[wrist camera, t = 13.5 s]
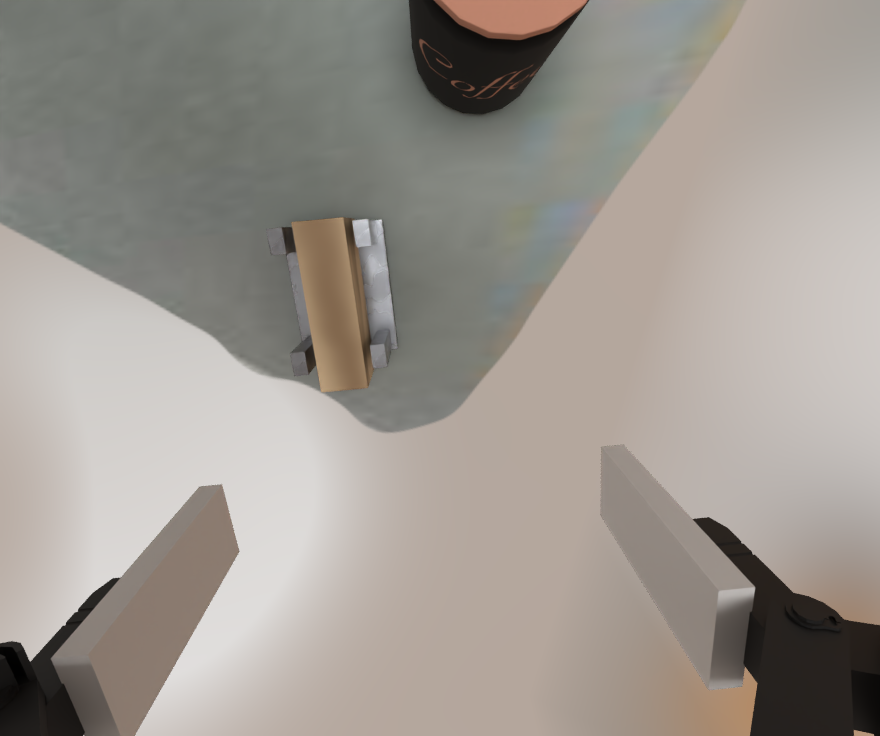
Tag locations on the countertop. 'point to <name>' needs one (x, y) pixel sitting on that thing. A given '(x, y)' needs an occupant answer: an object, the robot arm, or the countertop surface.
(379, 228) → the bracket
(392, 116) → the countertop surface
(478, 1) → the coffee jar
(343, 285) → the block
